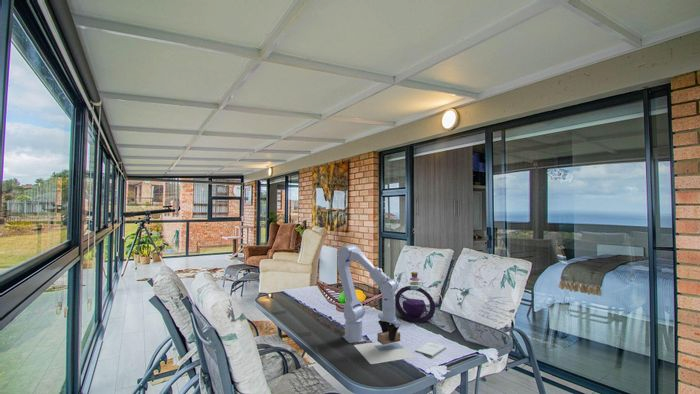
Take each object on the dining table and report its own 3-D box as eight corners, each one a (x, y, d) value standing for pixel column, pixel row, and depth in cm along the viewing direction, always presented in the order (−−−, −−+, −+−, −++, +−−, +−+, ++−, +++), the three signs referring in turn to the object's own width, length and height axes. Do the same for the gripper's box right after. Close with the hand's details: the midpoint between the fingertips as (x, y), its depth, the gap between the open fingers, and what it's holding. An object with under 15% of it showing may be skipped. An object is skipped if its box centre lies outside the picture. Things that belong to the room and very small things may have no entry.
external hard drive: (415, 353, 154) (429, 345, 164) (432, 359, 149) (445, 349, 159) (414, 350, 154) (429, 341, 164) (432, 355, 149) (445, 346, 159)
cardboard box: (394, 337, 163) (394, 329, 163) (400, 341, 159) (400, 332, 159) (377, 341, 159) (377, 333, 159) (383, 344, 155) (383, 336, 155)
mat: (353, 346, 161) (353, 344, 161) (394, 340, 168) (394, 339, 168) (370, 365, 142) (370, 364, 142) (415, 358, 149) (415, 356, 149)
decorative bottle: (393, 322, 193) (393, 275, 194) (395, 310, 214) (395, 268, 214) (436, 324, 189) (436, 276, 190) (434, 312, 210) (434, 269, 210)
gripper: (372, 304, 164) (372, 334, 164) (390, 313, 151) (390, 346, 151) (385, 302, 167) (385, 332, 167) (404, 311, 154) (404, 343, 154)
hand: (388, 338), depth 159 cm, fingers closed on cardboard box, 4 cm apart
